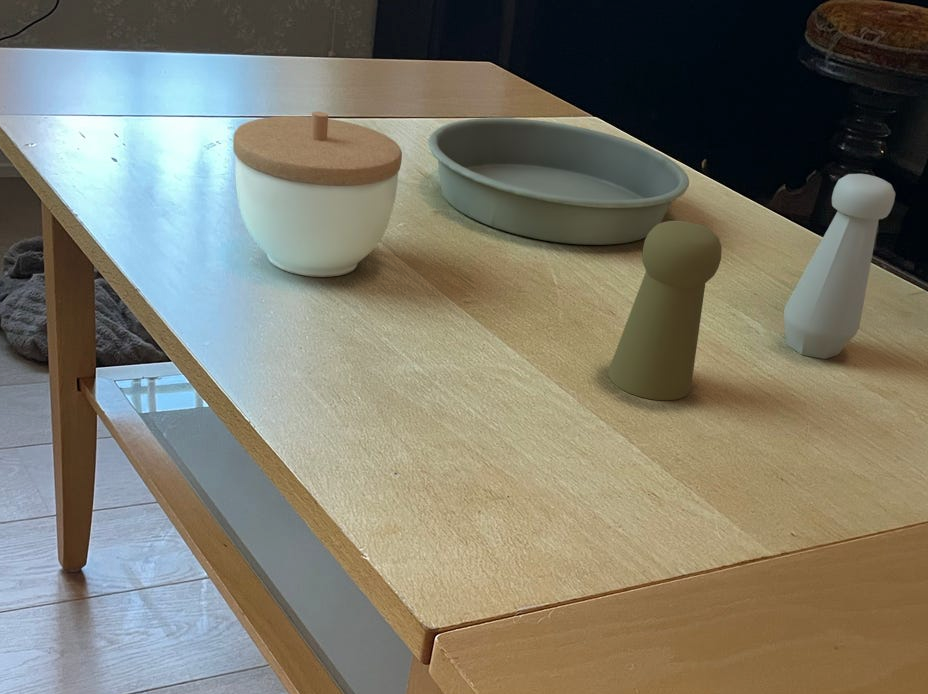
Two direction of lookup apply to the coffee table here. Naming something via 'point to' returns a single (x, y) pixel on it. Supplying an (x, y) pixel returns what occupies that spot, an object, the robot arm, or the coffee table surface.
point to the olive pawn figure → (666, 312)
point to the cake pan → (554, 180)
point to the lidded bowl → (315, 190)
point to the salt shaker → (838, 270)
